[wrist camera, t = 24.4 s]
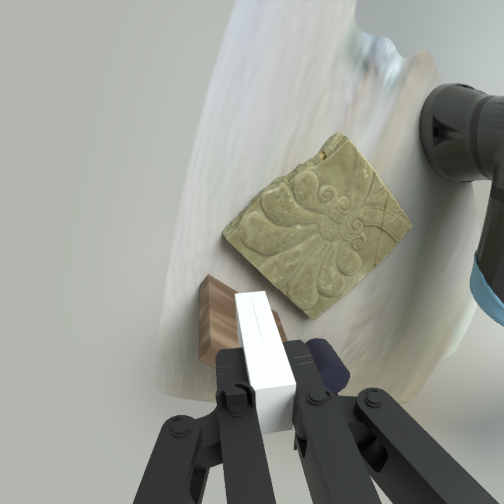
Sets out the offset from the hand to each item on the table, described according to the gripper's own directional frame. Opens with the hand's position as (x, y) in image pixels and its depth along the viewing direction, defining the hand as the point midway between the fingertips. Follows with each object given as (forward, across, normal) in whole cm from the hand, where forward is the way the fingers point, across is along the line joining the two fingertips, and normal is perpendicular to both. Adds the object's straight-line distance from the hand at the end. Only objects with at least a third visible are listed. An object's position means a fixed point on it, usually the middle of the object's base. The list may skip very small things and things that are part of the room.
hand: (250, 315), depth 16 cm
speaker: (+25, +12, -25) cm, 37 cm away
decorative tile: (+25, +12, -4) cm, 28 cm away
